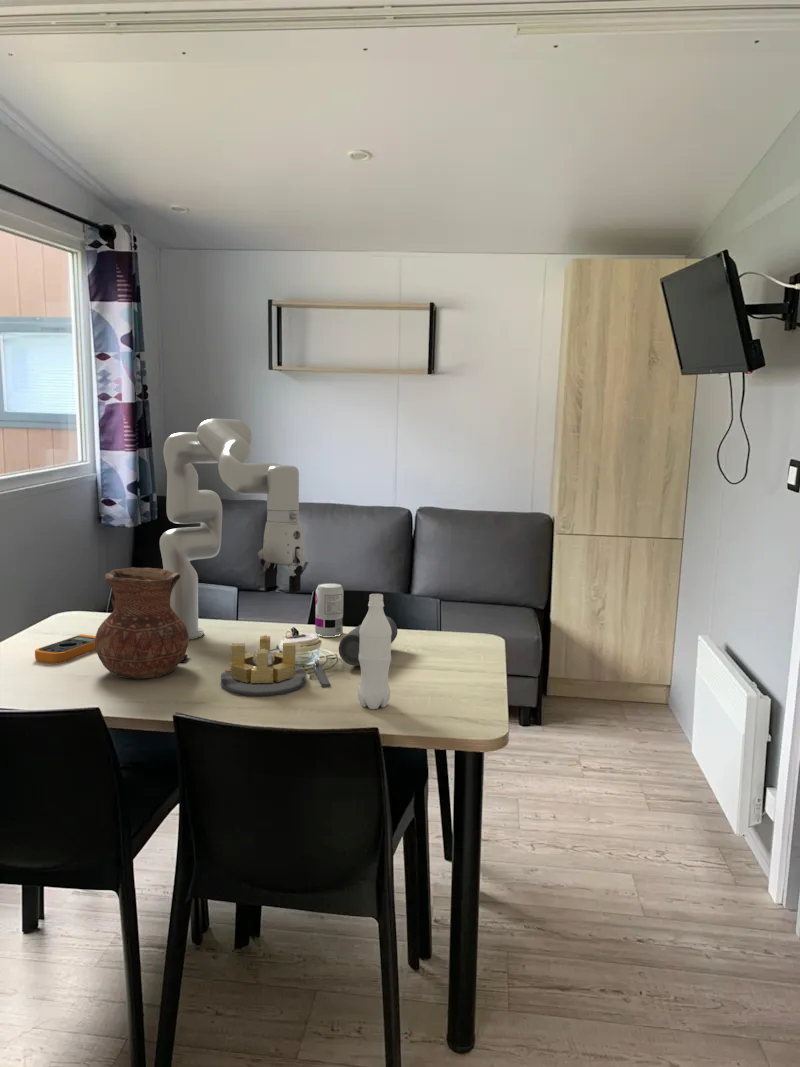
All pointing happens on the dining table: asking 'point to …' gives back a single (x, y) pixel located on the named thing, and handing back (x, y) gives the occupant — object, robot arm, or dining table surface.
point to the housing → (263, 688)
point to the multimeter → (66, 649)
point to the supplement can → (329, 609)
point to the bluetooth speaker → (351, 644)
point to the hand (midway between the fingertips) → (282, 588)
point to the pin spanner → (321, 674)
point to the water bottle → (374, 655)
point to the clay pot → (141, 625)
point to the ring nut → (263, 663)
